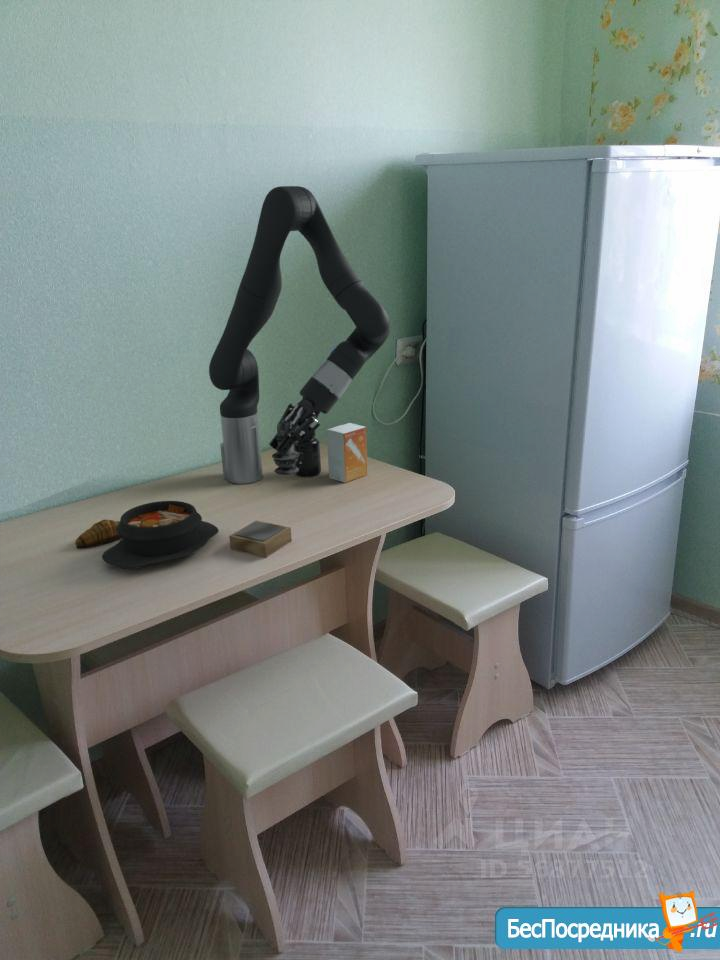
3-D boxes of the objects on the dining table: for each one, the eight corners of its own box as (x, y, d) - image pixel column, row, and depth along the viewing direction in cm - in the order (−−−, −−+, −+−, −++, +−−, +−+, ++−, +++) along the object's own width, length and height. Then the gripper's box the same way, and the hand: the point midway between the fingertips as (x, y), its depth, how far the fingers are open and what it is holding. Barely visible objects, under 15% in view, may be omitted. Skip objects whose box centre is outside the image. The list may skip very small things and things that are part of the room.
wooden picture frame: (230, 549, 162) (229, 535, 161) (257, 533, 169) (255, 519, 168) (266, 557, 158) (264, 542, 156) (291, 540, 165) (290, 526, 164)
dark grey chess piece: (302, 466, 172) (299, 413, 168) (297, 475, 167) (294, 420, 162) (275, 466, 173) (271, 413, 168) (270, 475, 167) (266, 420, 163)
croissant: (83, 555, 163) (79, 533, 161) (70, 545, 168) (66, 523, 166) (143, 536, 171) (140, 514, 169) (129, 527, 176) (126, 506, 174)
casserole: (182, 521, 177) (178, 486, 174) (238, 541, 166) (235, 504, 163) (84, 561, 159) (78, 523, 156) (139, 586, 148) (133, 545, 145)
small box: (345, 483, 197) (343, 433, 192) (328, 478, 201) (325, 429, 197) (368, 475, 202) (366, 426, 198) (351, 470, 206) (349, 422, 202)
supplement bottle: (289, 474, 205) (286, 430, 201) (307, 467, 210) (305, 423, 206) (308, 479, 201) (305, 434, 196) (326, 472, 205) (324, 427, 201)
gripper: (301, 369, 172) (252, 431, 171) (326, 382, 160) (274, 449, 159) (325, 390, 176) (277, 451, 175) (351, 404, 163) (300, 469, 163)
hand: (276, 449), depth 167 cm, fingers closed on dark grey chess piece, 3 cm apart
